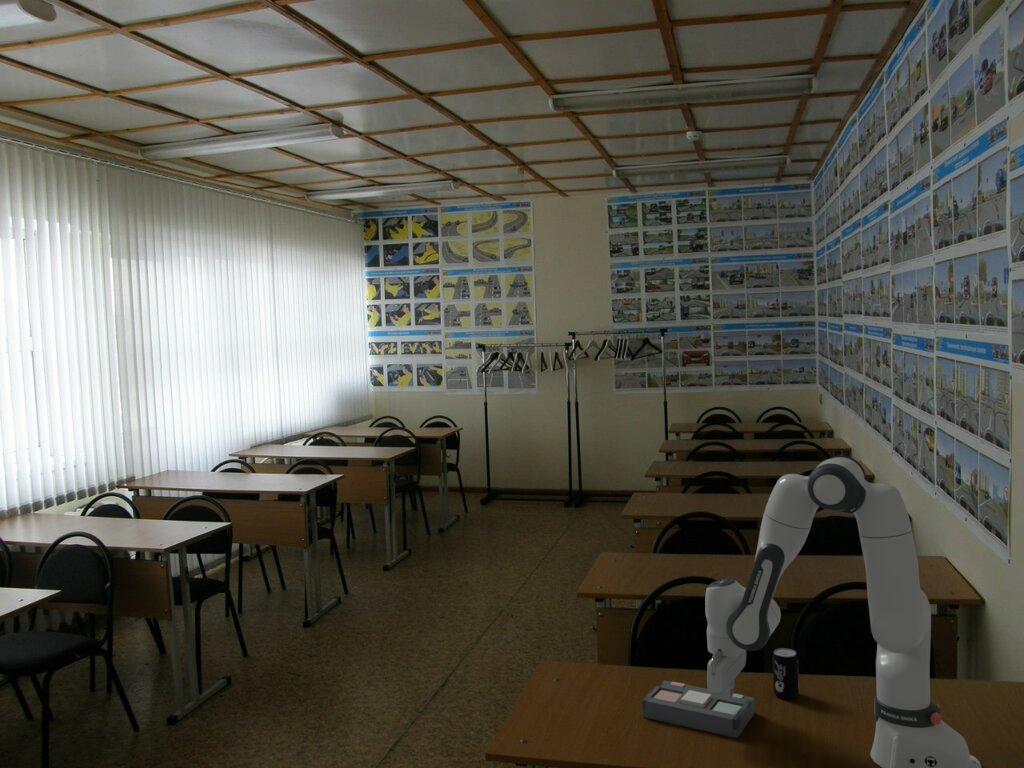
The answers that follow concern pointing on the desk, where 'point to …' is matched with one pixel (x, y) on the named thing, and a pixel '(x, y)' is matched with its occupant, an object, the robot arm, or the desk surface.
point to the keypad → (699, 710)
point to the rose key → (667, 695)
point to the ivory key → (696, 699)
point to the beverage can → (785, 673)
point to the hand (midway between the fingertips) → (728, 697)
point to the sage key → (727, 708)
